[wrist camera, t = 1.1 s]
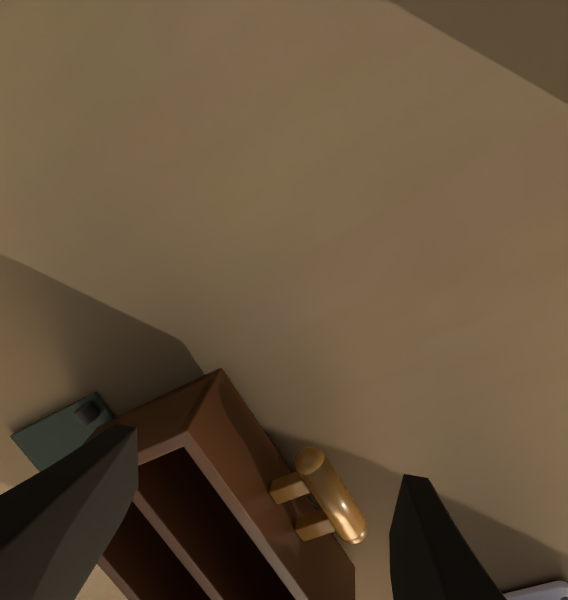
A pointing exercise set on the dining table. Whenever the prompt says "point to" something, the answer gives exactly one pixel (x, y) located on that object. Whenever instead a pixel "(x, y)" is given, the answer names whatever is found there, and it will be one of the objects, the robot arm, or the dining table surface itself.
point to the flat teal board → (62, 431)
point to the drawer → (227, 507)
